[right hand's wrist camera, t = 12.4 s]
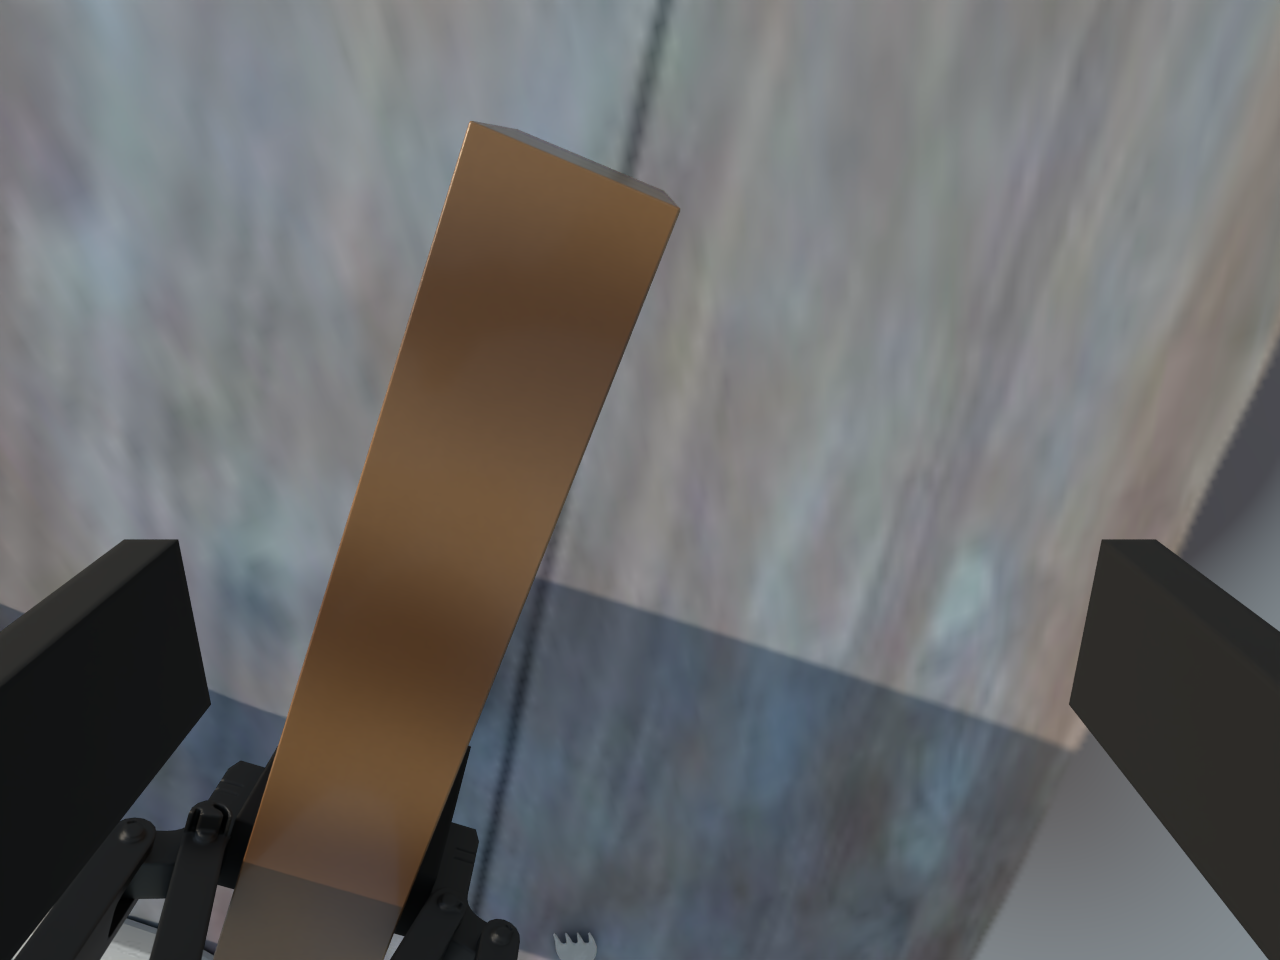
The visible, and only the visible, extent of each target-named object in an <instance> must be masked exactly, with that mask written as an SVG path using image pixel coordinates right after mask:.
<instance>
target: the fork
mask: <svg viewBox="0 0 1280 960" xmlns="http://www.w3.org/2000/svg"><path fill="white" fill-rule="evenodd" d="M588 935H589V942H588V943H585V942H584V941H583V939H582V938H581V936H580V934H579V933H578V932H577V939H578V942H577V943H573V942H572V940H571V938H570V937H569V936H568V934H567V933H565V936H566V943H562V942H561V941H560V939H559V938H558V936H557V935H556V934H555V933H553V936H554V939H555V946H556V952H557V954H558V956H559V958H560V960H594V959H595V956H596V953H597V946H596V943H595V941H594V938H593V936H592V935H591V933H590V932H589V933H588Z"/></svg>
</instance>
